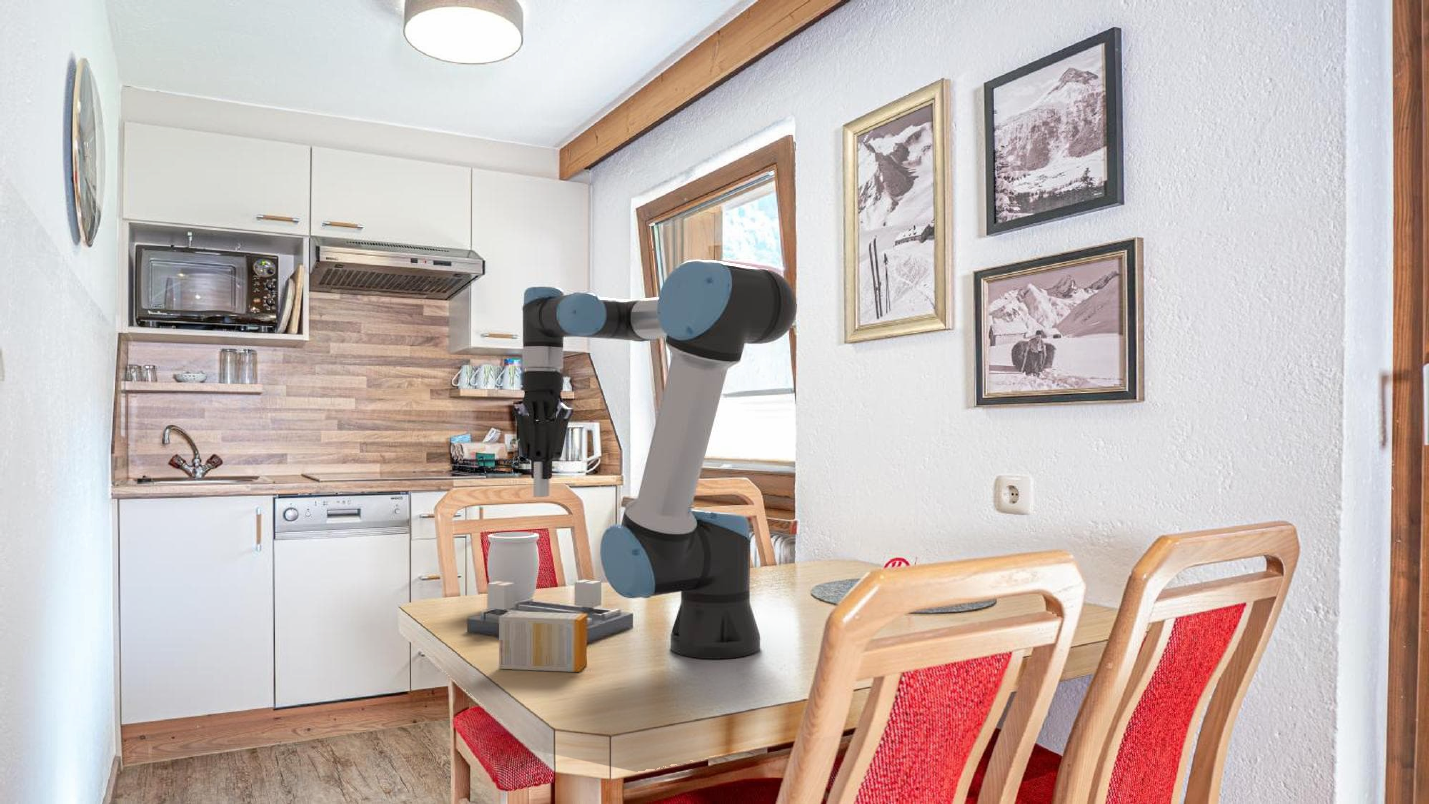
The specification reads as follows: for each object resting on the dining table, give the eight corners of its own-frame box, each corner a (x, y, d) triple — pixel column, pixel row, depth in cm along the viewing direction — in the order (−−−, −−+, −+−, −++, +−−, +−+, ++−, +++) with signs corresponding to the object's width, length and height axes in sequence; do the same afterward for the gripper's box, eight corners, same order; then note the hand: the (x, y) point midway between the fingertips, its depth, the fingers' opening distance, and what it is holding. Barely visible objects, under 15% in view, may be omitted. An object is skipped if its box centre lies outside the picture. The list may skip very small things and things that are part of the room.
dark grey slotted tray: (633, 626, 173) (633, 607, 173) (574, 647, 157) (574, 627, 157) (530, 614, 184) (530, 596, 185) (466, 632, 169) (467, 613, 169)
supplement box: (588, 612, 147) (509, 609, 149) (579, 619, 142) (497, 615, 144) (588, 665, 147) (508, 661, 149) (579, 674, 142) (497, 669, 144)
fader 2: (601, 611, 173) (601, 580, 173) (592, 614, 170) (592, 583, 170) (583, 609, 175) (583, 578, 175) (574, 612, 172) (574, 581, 172)
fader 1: (514, 613, 171) (514, 582, 171) (504, 616, 169) (504, 584, 169) (497, 611, 173) (497, 580, 173) (487, 614, 170) (487, 582, 170)
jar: (485, 604, 194) (485, 532, 194) (535, 601, 197) (536, 530, 197) (488, 614, 184) (489, 538, 184) (541, 611, 187) (542, 536, 187)
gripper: (583, 371, 175) (581, 496, 175) (528, 371, 181) (527, 493, 181) (557, 369, 168) (556, 500, 168) (502, 370, 174) (500, 496, 174)
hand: (541, 496), depth 174 cm, fingers closed
